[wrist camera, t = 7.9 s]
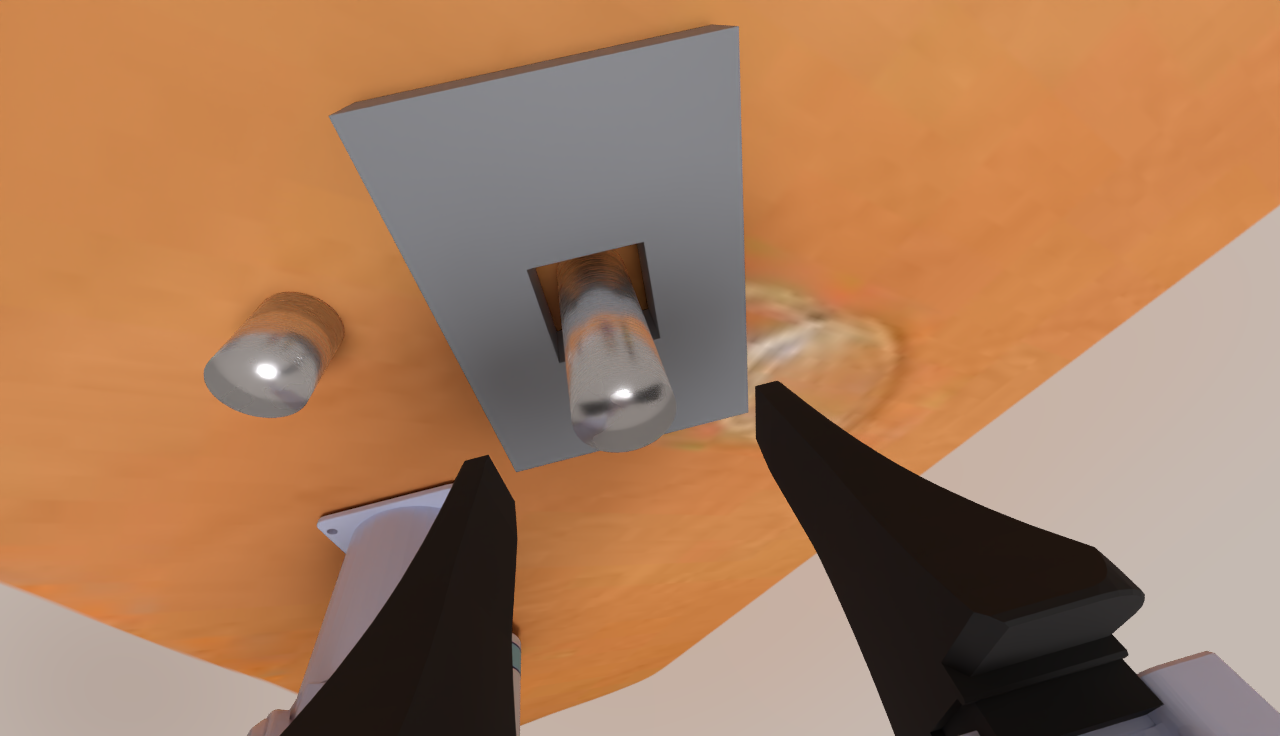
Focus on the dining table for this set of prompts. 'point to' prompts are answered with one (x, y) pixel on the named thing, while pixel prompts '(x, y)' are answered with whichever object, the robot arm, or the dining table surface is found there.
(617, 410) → the tall pin
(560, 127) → the hole board
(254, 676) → the dining table surface
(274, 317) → the short pin
